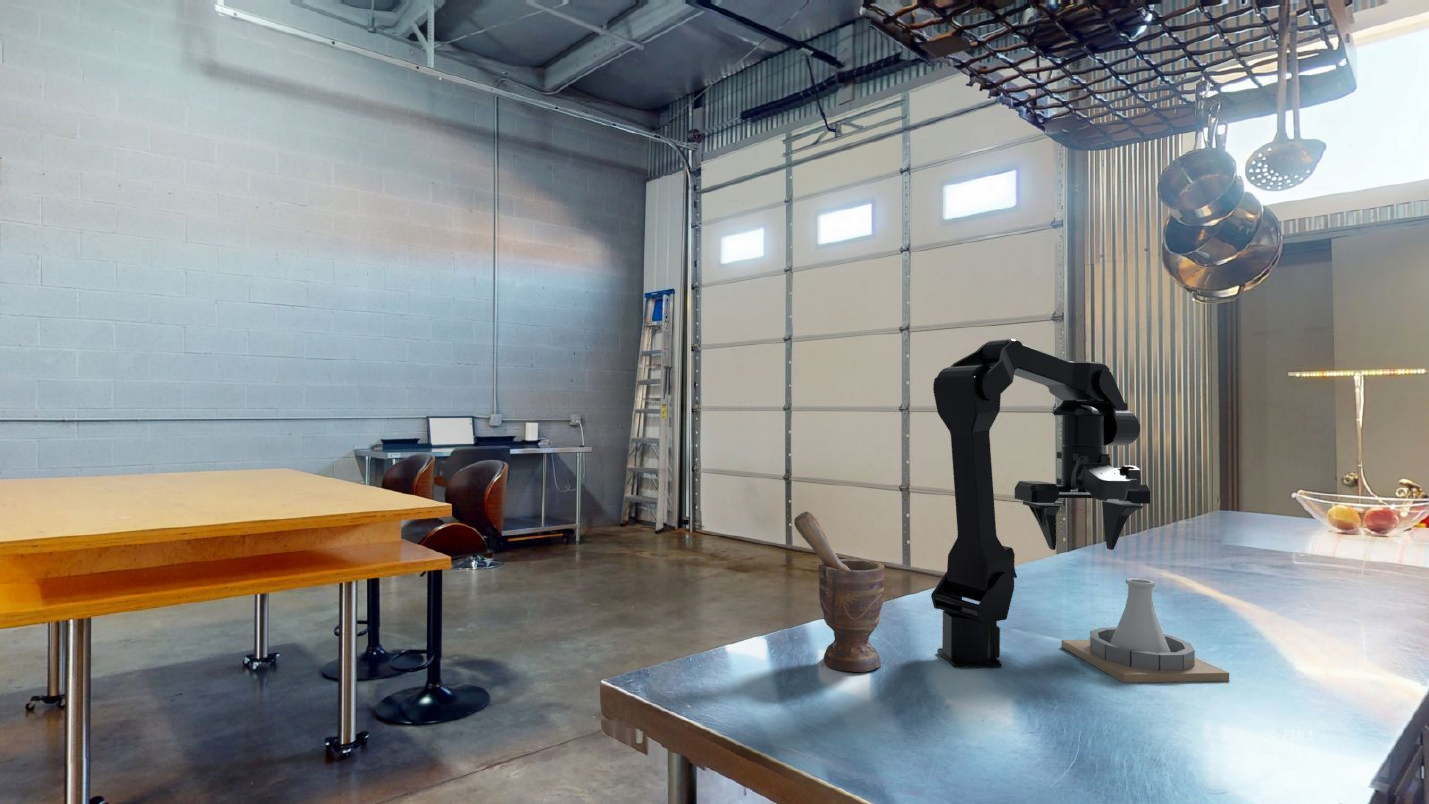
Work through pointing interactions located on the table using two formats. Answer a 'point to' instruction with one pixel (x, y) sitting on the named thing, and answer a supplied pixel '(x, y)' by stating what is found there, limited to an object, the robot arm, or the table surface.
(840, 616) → the mortar and pestle
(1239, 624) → the table surface
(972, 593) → the robot arm
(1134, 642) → the flask
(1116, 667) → the duct collar
